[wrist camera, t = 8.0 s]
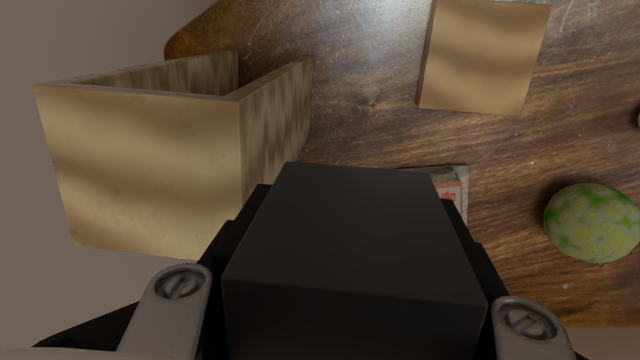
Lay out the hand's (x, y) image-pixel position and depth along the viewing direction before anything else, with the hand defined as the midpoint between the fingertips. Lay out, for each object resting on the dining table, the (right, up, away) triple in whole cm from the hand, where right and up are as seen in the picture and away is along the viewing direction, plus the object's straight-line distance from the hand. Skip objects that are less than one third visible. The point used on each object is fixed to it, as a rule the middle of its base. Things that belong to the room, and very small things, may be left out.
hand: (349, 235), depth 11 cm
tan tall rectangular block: (-7, +13, +36) cm, 39 cm away
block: (0, 0, 0) cm, 1 cm away
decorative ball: (+34, -1, +38) cm, 51 cm away
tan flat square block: (+18, +17, +32) cm, 40 cm away
